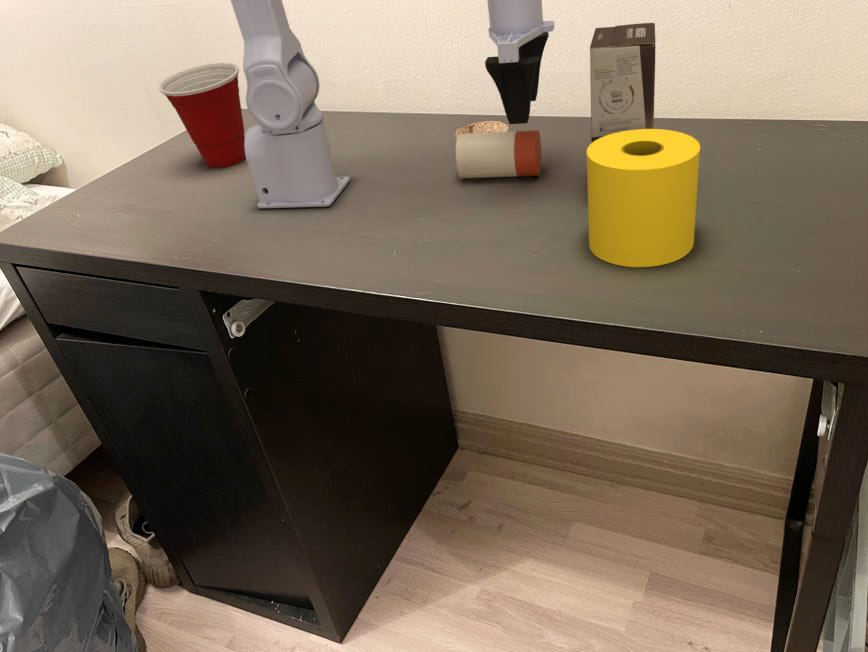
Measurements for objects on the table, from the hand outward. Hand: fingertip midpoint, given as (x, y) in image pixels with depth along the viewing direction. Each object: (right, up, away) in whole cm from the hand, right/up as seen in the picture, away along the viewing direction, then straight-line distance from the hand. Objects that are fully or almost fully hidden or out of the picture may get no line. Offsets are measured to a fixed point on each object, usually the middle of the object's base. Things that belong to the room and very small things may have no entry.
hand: (523, 111), depth 85 cm
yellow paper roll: (+11, -17, -12) cm, 24 cm away
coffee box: (+11, -9, -1) cm, 14 cm away
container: (-7, -4, +5) cm, 10 cm away
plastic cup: (-41, 0, +21) cm, 46 cm away
